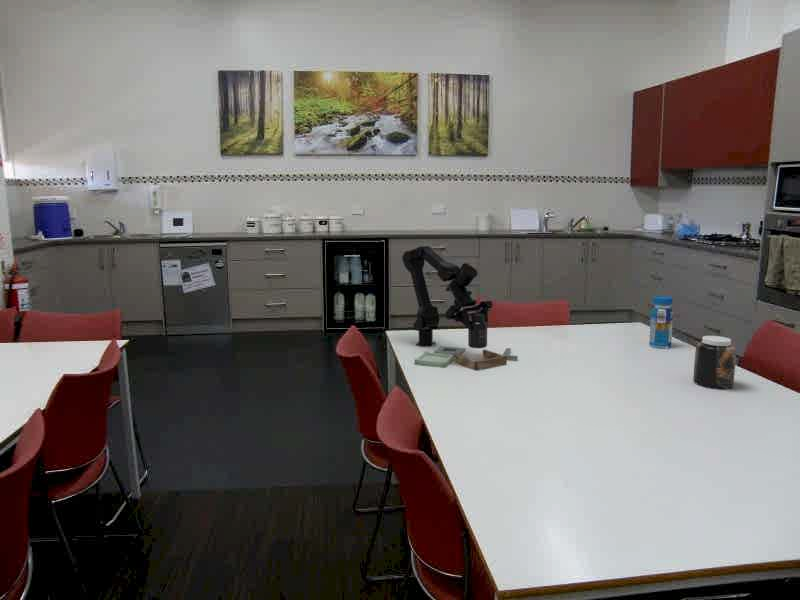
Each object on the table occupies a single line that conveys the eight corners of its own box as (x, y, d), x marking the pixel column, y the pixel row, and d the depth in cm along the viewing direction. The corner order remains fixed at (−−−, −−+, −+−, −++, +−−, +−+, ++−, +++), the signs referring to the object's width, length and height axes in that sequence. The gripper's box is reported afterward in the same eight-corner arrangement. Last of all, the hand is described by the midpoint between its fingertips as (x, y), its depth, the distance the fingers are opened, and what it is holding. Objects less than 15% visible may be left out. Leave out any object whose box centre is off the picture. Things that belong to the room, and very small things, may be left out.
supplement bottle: (486, 344, 237) (487, 312, 235) (487, 349, 230) (488, 316, 228) (467, 343, 237) (468, 311, 235) (468, 348, 231) (468, 315, 229)
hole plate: (440, 348, 254) (440, 346, 254) (465, 351, 251) (465, 348, 251) (433, 355, 245) (433, 352, 245) (458, 357, 242) (458, 354, 242)
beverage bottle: (644, 345, 259) (647, 296, 255) (659, 342, 262) (662, 294, 259) (660, 349, 251) (663, 299, 248) (676, 347, 255) (679, 297, 251)
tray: (424, 356, 243) (424, 352, 243) (454, 359, 239) (454, 354, 239) (414, 364, 232) (414, 359, 232) (445, 367, 228) (445, 362, 228)
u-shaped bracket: (455, 362, 234) (455, 354, 234) (484, 357, 242) (484, 349, 241) (476, 370, 225) (476, 362, 224) (506, 364, 232) (506, 356, 231)
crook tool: (506, 352, 249) (506, 348, 249) (521, 353, 248) (521, 349, 247) (501, 360, 238) (501, 355, 238) (517, 361, 236) (517, 356, 236)
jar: (691, 386, 206) (695, 340, 203) (694, 376, 216) (697, 333, 213) (733, 391, 200) (737, 344, 198) (733, 381, 211) (737, 336, 208)
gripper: (470, 304, 250) (488, 337, 243) (431, 309, 240) (448, 344, 233) (484, 286, 242) (503, 321, 235) (444, 291, 232) (463, 327, 225)
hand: (479, 328), depth 232 cm, fingers closed on supplement bottle, 7 cm apart
